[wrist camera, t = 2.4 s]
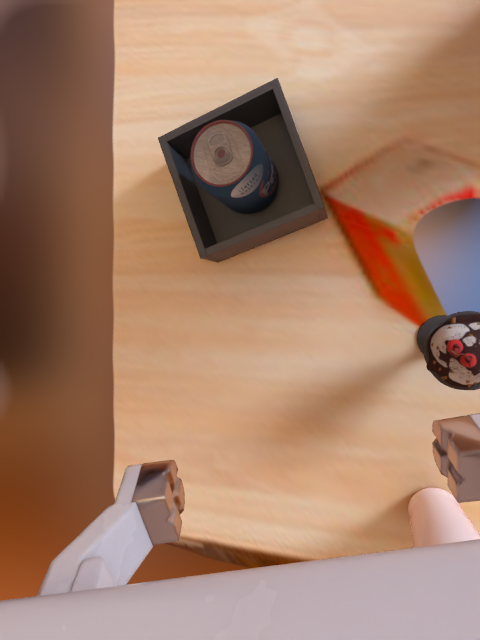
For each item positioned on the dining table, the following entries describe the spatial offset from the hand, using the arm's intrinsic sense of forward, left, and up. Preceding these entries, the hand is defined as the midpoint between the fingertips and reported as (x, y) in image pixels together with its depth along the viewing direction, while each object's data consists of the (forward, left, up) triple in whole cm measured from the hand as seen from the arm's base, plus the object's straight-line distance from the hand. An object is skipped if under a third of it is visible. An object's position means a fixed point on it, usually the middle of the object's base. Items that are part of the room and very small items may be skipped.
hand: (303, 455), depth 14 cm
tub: (-2, -20, -37) cm, 42 cm away
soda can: (-2, -20, -37) cm, 42 cm away
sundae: (-9, +6, -37) cm, 38 cm away
